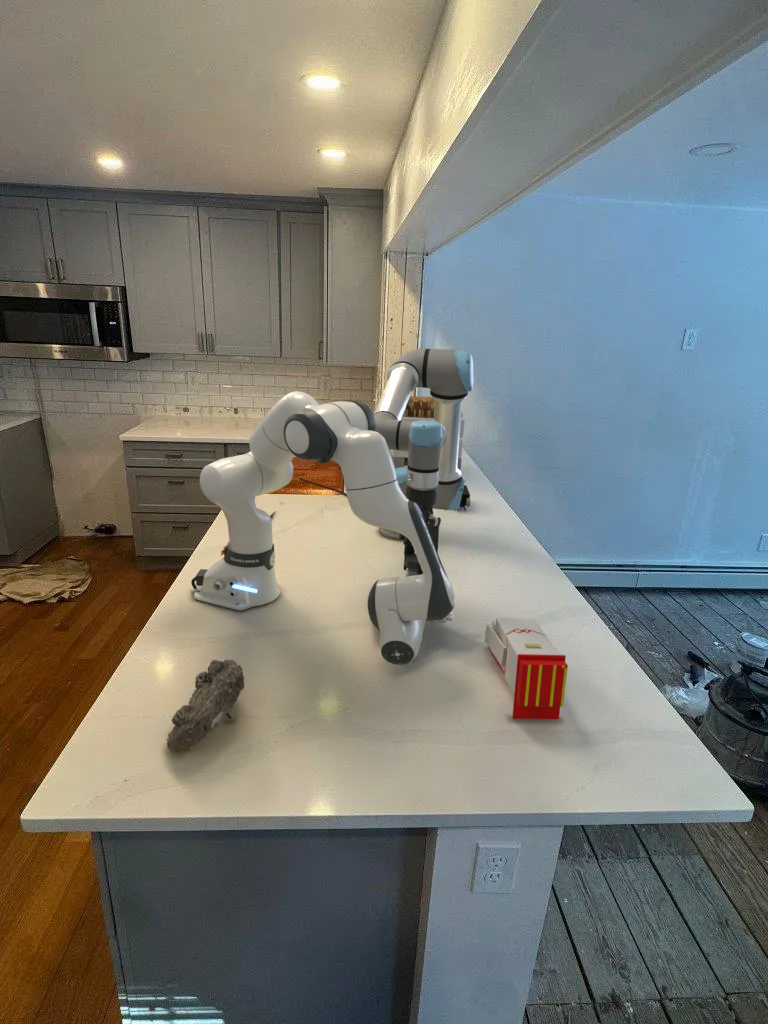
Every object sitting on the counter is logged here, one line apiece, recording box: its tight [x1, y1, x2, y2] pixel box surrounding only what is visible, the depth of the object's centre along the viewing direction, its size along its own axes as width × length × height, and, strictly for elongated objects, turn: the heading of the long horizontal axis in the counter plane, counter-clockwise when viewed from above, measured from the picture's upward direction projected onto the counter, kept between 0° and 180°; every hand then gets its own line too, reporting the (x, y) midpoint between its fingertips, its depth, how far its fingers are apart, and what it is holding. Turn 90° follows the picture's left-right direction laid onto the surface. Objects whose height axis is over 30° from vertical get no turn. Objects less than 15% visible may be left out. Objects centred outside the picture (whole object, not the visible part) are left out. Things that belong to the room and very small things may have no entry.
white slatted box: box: [389, 395, 465, 472], centre depth 268 cm, size 34×33×41 cm
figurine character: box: [456, 484, 471, 512], centre depth 229 cm, size 7×8×15 cm
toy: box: [484, 617, 569, 720], centre depth 122 cm, size 12×13×30 cm
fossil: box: [166, 658, 245, 754], centre depth 106 cm, size 22×10×15 cm
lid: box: [405, 553, 419, 570], centre depth 142 cm, size 6×6×2 cm
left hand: (414, 589), depth 146 cm, fingers closed on jar, 5 cm apart
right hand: (415, 573), depth 144 cm, fingers closed on lid, 6 cm apart
